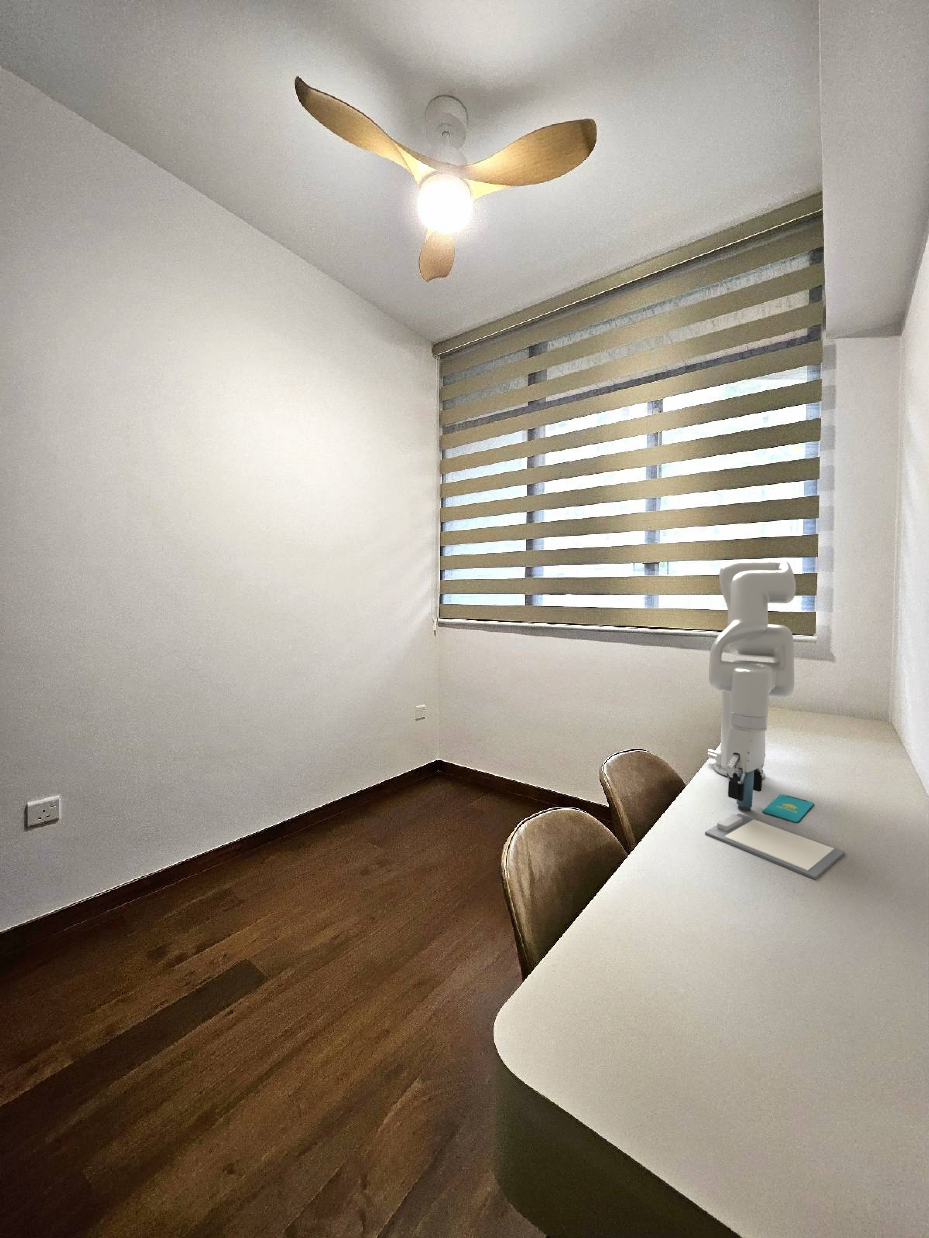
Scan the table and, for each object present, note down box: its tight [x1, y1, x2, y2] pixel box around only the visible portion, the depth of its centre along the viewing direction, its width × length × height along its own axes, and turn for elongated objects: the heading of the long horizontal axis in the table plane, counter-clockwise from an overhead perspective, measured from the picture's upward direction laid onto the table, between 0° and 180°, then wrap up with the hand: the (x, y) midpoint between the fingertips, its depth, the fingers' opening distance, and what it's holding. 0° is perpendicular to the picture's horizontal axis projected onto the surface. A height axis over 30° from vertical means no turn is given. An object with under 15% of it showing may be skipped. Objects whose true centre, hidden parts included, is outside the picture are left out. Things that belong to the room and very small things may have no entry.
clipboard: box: [704, 812, 846, 880], centre depth 101 cm, size 20×15×2 cm
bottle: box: [736, 767, 754, 812], centre depth 117 cm, size 3×3×11 cm
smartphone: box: [762, 793, 815, 824], centre depth 118 cm, size 7×1×15 cm
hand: (744, 793), depth 117 cm, fingers open, 8 cm apart
